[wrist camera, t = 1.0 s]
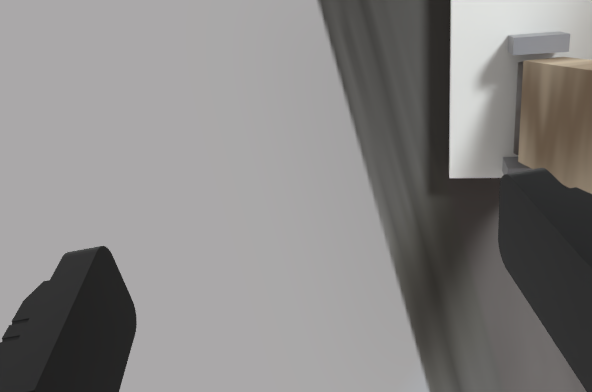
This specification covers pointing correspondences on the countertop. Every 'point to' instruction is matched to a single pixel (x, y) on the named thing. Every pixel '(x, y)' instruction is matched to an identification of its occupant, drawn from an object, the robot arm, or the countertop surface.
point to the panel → (502, 72)
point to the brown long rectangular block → (555, 118)
